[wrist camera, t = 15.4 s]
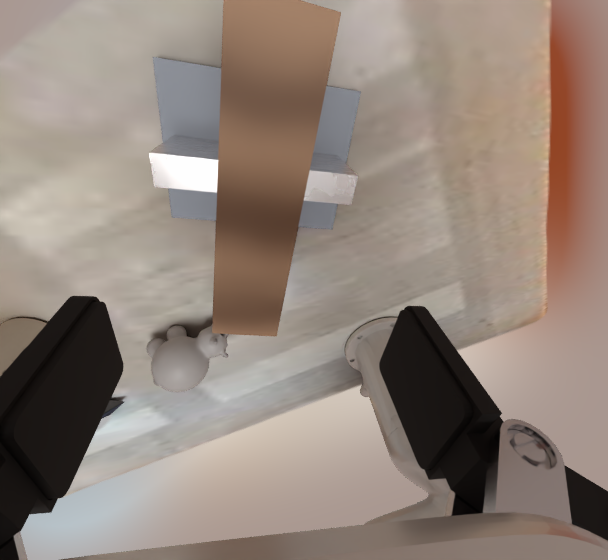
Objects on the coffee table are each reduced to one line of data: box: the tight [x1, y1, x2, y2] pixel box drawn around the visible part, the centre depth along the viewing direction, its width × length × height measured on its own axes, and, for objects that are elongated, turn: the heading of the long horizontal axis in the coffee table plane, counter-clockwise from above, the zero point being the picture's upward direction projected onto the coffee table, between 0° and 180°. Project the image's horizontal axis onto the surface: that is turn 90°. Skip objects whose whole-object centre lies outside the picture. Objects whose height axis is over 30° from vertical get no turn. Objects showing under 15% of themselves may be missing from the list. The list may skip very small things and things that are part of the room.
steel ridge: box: [149, 135, 358, 205], centre depth 27 cm, size 2×16×8 cm, turn 82°
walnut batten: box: [212, 0, 341, 336], centre depth 21 cm, size 20×5×7 cm, turn 169°
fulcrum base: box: [153, 57, 361, 229], centre depth 30 cm, size 14×18×2 cm
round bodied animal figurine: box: [147, 323, 229, 392], centre depth 41 cm, size 7×12×8 cm, turn 109°
